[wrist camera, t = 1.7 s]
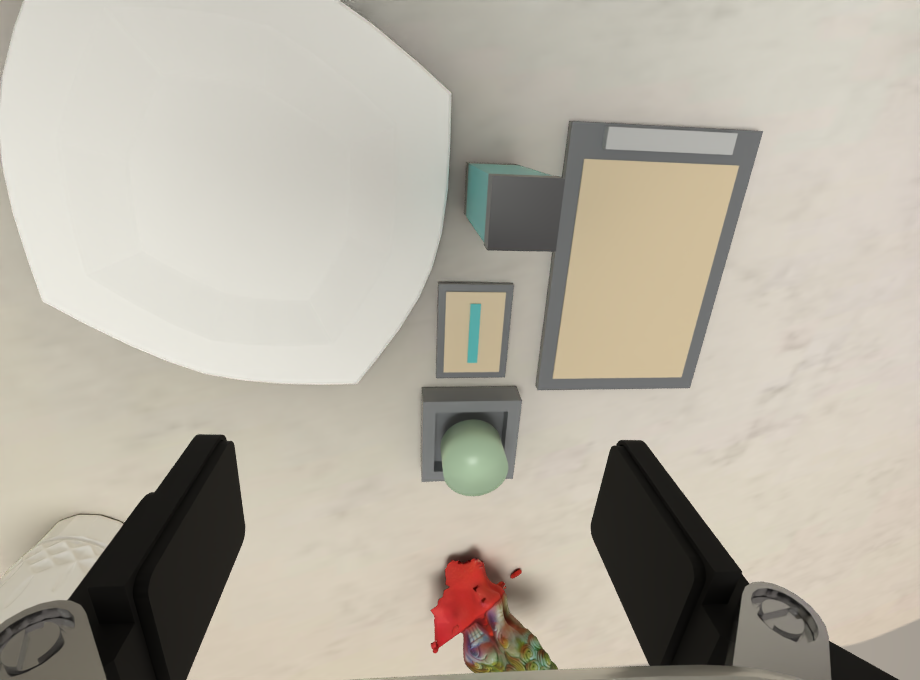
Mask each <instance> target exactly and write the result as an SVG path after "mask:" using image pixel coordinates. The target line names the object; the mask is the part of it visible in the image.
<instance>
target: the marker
mask: <svg viewBox="0 0 920 680" xmlns="http://www.w3.org/2000/svg"><path fill="white" fill-rule="evenodd" d="M564 185H565V178H562V177H559V176H551V175H548V174H545V173H542V172H538V171H535V170H532V169H529V168H526V167H523V166H520V165H516V164H497V163H473V162H467V165H466V186H465V207H464V214H465V215H466V217H467V218H468V220H469V221H470V223H471V224H472V226H473V227H474V229H475V230H476V231H477V233H478V234H479V236H480V237H481V239H482V240H483V242H484V246H485V247H486V249H487V250H502V251H551V252H556V246H557V239H558V231H559V223H560V216H561V208H562V200H563V193H564Z"/></svg>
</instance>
